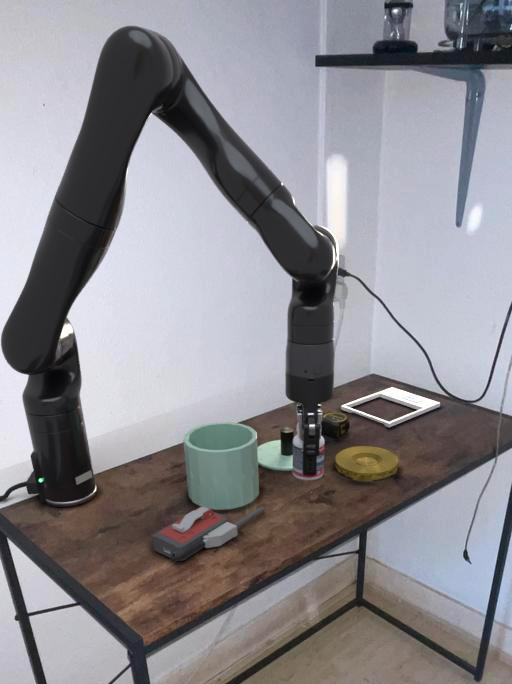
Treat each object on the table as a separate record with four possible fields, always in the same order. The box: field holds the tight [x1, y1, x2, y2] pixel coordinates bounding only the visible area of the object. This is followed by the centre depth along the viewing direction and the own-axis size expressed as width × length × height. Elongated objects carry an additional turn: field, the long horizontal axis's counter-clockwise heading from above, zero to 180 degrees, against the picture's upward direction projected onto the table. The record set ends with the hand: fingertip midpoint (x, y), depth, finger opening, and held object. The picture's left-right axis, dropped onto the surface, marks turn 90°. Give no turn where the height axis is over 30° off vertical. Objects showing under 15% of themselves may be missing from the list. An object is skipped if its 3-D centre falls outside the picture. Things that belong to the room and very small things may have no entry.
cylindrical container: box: [182, 421, 260, 511], centre depth 121 cm, size 13×13×12 cm
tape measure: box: [321, 411, 350, 439], centre depth 147 cm, size 7×7×4 cm
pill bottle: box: [291, 422, 326, 481], centre depth 112 cm, size 5×5×9 cm
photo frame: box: [340, 386, 441, 428], centre depth 159 cm, size 15×1×18 cm
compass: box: [334, 445, 399, 482], centre depth 132 cm, size 12×12×2 cm
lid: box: [257, 427, 295, 472], centre depth 136 cm, size 14×14×6 cm
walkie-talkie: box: [152, 506, 265, 562], centre depth 111 cm, size 9×4×20 cm
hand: (308, 466), depth 114 cm, fingers closed on pill bottle, 5 cm apart
